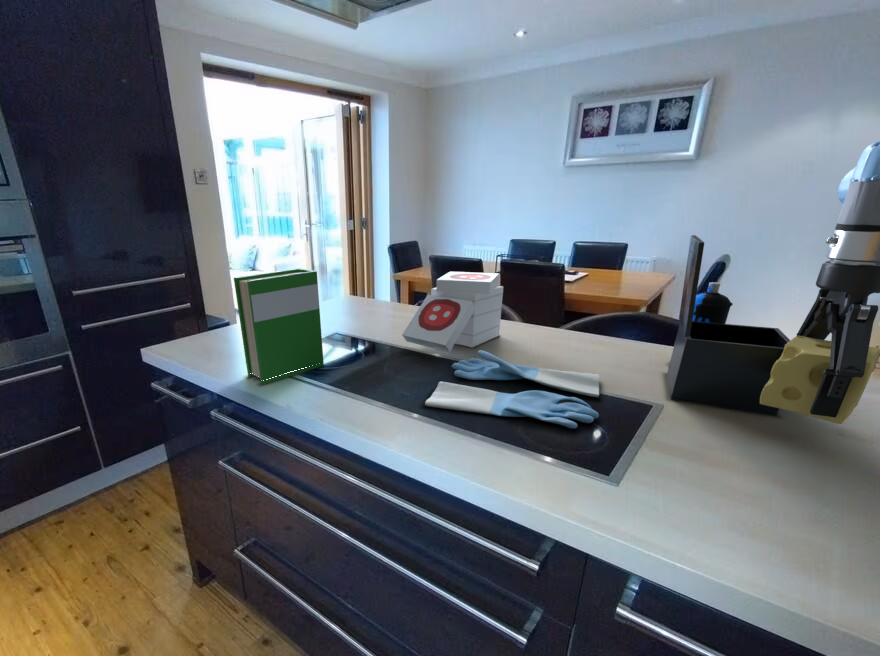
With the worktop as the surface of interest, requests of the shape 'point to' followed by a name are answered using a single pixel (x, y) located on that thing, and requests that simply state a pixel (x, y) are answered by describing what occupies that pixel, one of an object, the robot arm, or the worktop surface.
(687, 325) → the bin lid
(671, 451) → the worktop surface
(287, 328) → the hardback book
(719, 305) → the aerosol can
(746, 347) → the bin
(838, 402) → the robot arm
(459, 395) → the rubber gloves
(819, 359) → the cheese
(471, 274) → the pizza boxes
